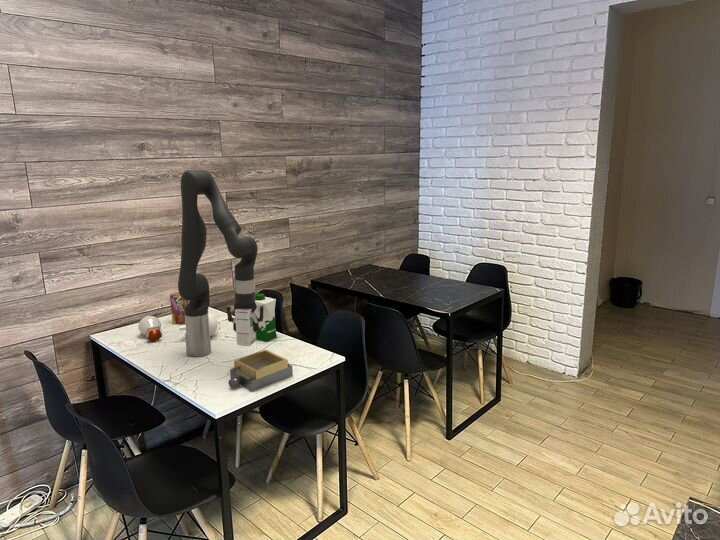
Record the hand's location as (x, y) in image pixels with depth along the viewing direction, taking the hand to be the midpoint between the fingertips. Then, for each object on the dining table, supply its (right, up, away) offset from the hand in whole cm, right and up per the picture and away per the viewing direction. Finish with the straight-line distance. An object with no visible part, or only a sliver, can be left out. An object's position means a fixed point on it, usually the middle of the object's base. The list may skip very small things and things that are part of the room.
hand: (246, 331), depth 193 cm
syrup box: (0, -5, +1) cm, 5 cm away
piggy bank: (-28, -7, +34) cm, 45 cm away
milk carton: (+2, -7, +32) cm, 33 cm away
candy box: (-43, -2, +51) cm, 67 cm away
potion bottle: (-50, -7, +33) cm, 60 cm away
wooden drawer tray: (+6, -17, -8) cm, 19 cm away
